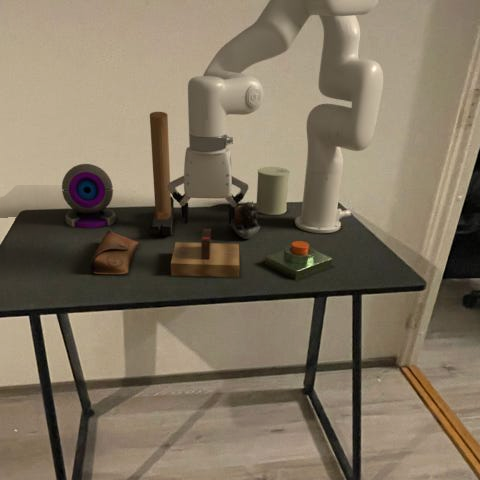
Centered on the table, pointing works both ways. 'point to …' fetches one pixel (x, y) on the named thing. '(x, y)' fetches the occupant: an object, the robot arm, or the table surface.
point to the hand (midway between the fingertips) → (208, 221)
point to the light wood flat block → (205, 260)
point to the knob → (206, 243)
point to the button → (300, 247)
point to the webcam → (88, 196)
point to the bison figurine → (246, 220)
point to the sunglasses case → (113, 255)
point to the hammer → (161, 175)
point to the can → (272, 190)
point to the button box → (298, 262)
